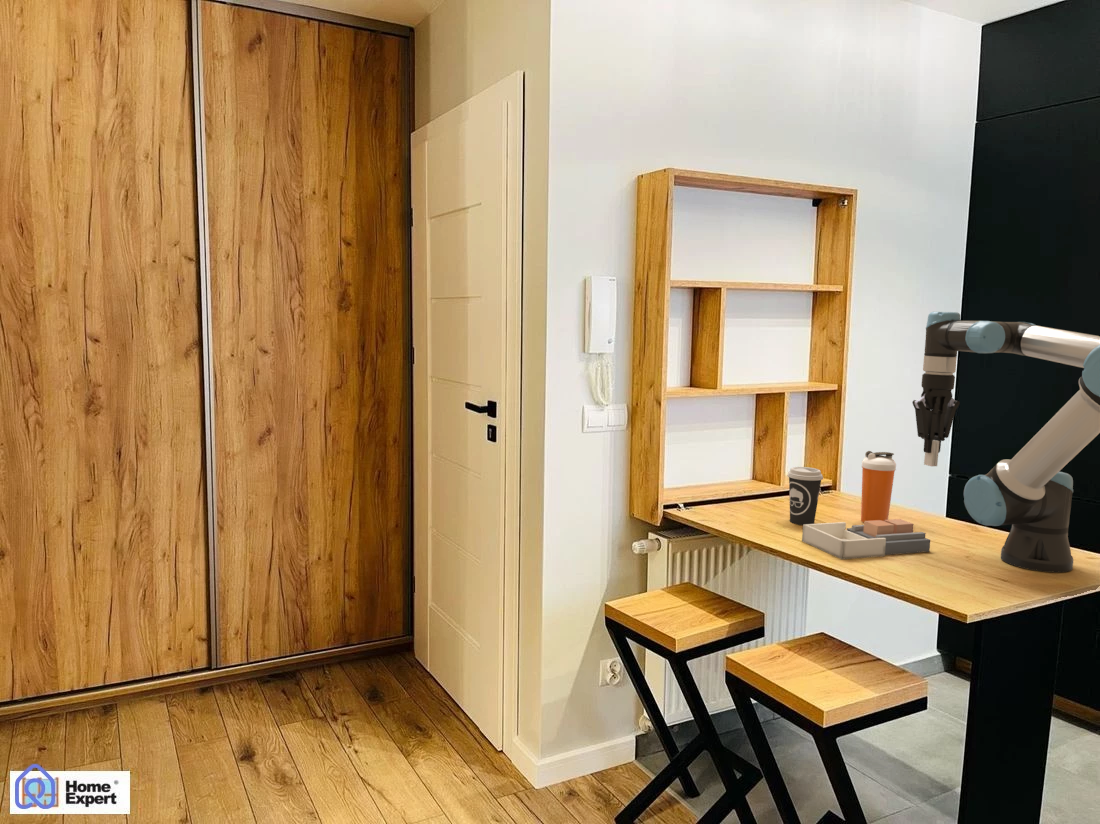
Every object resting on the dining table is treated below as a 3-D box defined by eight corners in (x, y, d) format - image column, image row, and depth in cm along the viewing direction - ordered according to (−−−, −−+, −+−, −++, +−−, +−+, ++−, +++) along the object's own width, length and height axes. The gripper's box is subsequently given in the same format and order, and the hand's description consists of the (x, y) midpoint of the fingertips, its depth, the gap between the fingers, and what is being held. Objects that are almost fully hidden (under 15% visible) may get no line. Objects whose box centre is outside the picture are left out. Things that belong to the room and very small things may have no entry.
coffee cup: (821, 528, 232) (825, 474, 230) (785, 525, 234) (789, 471, 232) (817, 519, 241) (821, 467, 239) (783, 517, 243) (786, 465, 241)
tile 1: (893, 536, 213) (894, 525, 213) (876, 537, 212) (877, 526, 212) (879, 531, 218) (880, 520, 218) (863, 532, 217) (864, 521, 216)
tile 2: (912, 535, 215) (913, 523, 215) (896, 536, 214) (897, 524, 213) (898, 530, 220) (899, 518, 220) (882, 531, 218) (883, 519, 218)
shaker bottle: (896, 526, 236) (902, 455, 233) (863, 525, 236) (869, 454, 233) (884, 518, 245) (889, 450, 242) (852, 517, 245) (858, 449, 242)
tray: (884, 556, 207) (886, 538, 206) (841, 559, 203) (842, 541, 202) (842, 538, 222) (844, 522, 221) (801, 541, 218) (803, 524, 217)
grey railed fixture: (929, 551, 212) (930, 535, 211) (882, 554, 208) (884, 538, 207) (890, 536, 225) (891, 521, 225) (846, 539, 221) (847, 523, 220)
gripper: (948, 372, 220) (940, 461, 223) (906, 371, 216) (898, 463, 219) (971, 374, 213) (962, 467, 216) (928, 374, 209) (920, 468, 212)
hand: (930, 465), depth 217 cm, fingers closed
